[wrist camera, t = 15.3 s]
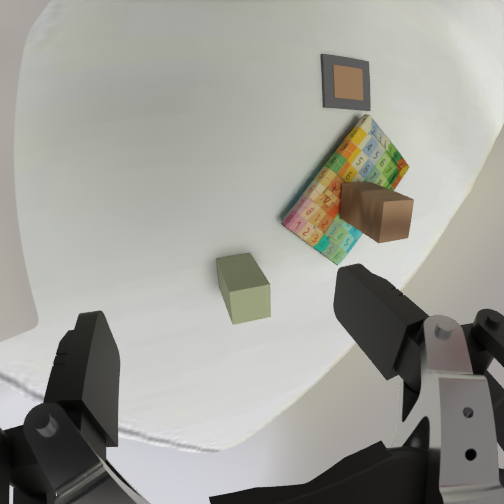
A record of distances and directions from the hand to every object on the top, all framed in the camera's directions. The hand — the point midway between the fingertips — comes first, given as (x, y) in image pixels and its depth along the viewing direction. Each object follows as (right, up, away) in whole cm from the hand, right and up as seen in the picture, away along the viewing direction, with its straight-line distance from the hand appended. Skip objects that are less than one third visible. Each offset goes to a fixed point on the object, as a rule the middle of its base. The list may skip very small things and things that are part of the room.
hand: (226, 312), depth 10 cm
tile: (+14, +26, +27) cm, 40 cm away
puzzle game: (+14, +12, +34) cm, 39 cm away
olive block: (-2, -1, +35) cm, 35 cm away
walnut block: (+15, +9, +30) cm, 35 cm away
